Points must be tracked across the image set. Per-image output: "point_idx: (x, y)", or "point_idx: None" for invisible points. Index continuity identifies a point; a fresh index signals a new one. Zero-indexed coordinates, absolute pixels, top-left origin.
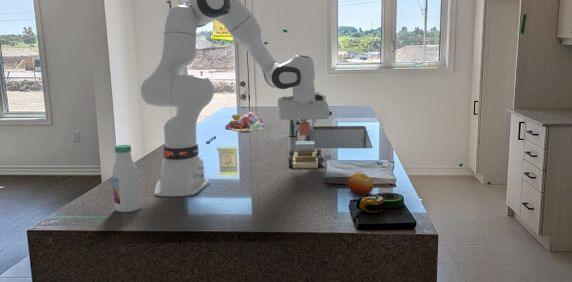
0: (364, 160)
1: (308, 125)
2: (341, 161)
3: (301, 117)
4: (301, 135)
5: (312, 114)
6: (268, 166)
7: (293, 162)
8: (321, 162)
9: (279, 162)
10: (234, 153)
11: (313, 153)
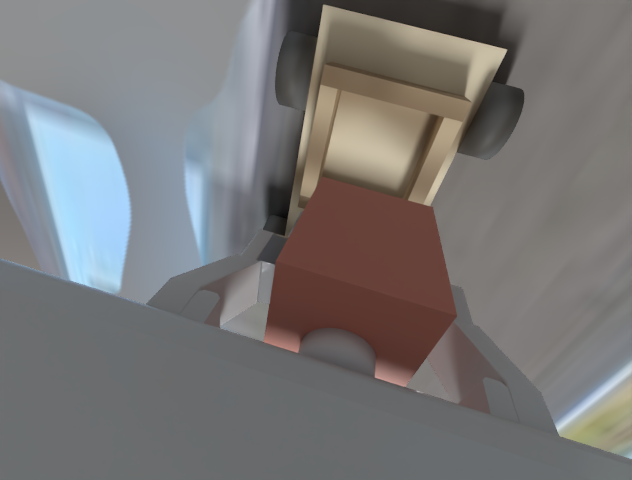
0: (84, 119)
1: (302, 242)
2: (186, 135)
3: (409, 425)
4: (409, 201)
5: (105, 410)
6: (619, 156)
7: (485, 81)
8: (294, 31)
9: (496, 221)
10: (596, 412)
11: (313, 168)
